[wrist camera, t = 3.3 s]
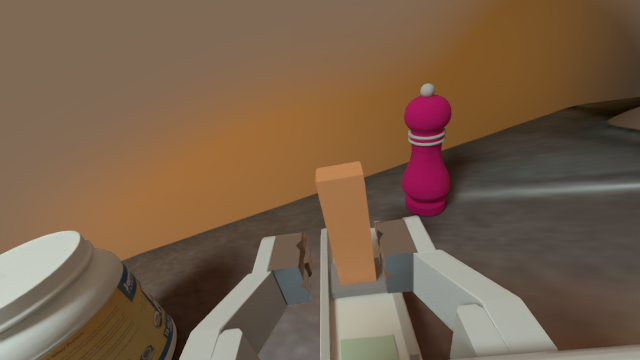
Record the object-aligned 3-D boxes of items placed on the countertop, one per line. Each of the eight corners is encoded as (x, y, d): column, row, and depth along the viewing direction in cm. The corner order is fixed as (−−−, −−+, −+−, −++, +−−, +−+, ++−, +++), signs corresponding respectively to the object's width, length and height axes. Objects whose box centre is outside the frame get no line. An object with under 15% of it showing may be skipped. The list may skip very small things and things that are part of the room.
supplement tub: (202, 329, 31) (122, 229, 23) (105, 470, 22) (-95, 389, 13) (139, 308, 36) (53, 218, 27) (37, 416, 26) (-144, 331, 18)
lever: (388, 292, 27) (377, 177, 20) (333, 298, 28) (303, 189, 20) (380, 262, 30) (369, 155, 23) (332, 268, 31) (305, 166, 24)
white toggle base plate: (422, 376, 23) (423, 354, 21) (326, 383, 24) (317, 362, 22) (383, 241, 38) (381, 220, 35) (324, 249, 39) (319, 229, 36)
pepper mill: (395, 198, 46) (389, 85, 35) (432, 188, 46) (437, 74, 36) (415, 223, 39) (415, 95, 29) (458, 211, 40) (473, 81, 30)
